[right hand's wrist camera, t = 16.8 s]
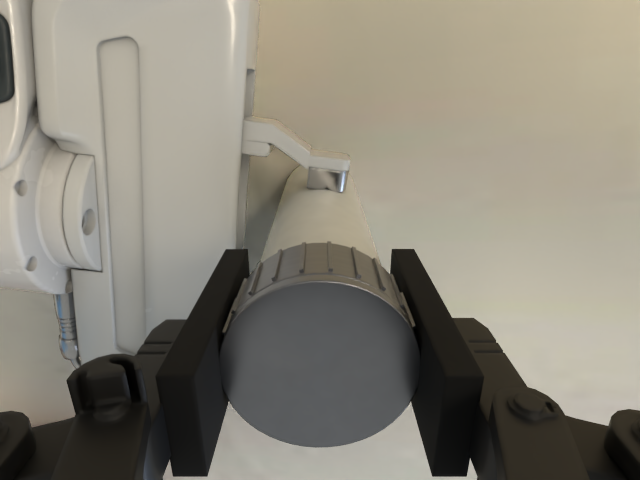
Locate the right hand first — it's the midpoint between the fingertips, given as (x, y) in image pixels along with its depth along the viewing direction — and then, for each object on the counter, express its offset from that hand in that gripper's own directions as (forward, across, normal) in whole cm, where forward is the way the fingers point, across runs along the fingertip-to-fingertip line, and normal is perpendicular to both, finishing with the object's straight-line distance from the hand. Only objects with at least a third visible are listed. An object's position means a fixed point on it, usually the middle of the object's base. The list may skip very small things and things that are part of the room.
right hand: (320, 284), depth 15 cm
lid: (-4, 0, 0) cm, 4 cm away
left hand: (+6, -1, 0) cm, 6 cm away
